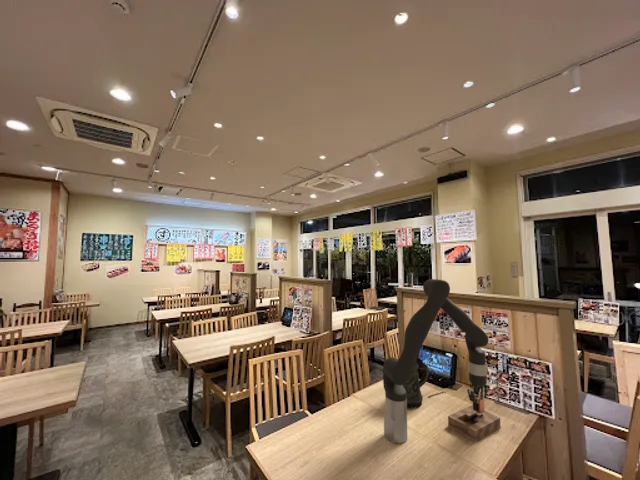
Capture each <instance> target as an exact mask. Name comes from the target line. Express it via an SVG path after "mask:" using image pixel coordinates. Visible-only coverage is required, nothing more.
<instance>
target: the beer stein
mask: <svg viewBox="0 0 640 480" xmlns="http://www.w3.org/2000/svg"><path fill="white" fill-rule="evenodd" d="M397 359H398V360H399V358H397ZM418 369H421V370H422V369H423V370H424V372H423V375H422V377H421V378H420V379H419V372H418ZM429 376H430V370H429V366H428V365H427V364H426V363H425V362H423V359H421V357H418V356H417V358H416V361H415V363H414V366H413V369H412V372H411V375H410V377H409V379H408V381H407V382H406V383H405V384H403V386H404V388H405V390H406V392H407V409H417V408H420V407H421V406H422V404H423V394H422V391H421V388H422V387H423V386H424V385H425V383H426V382H427V381H428V379H429Z"/></svg>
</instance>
